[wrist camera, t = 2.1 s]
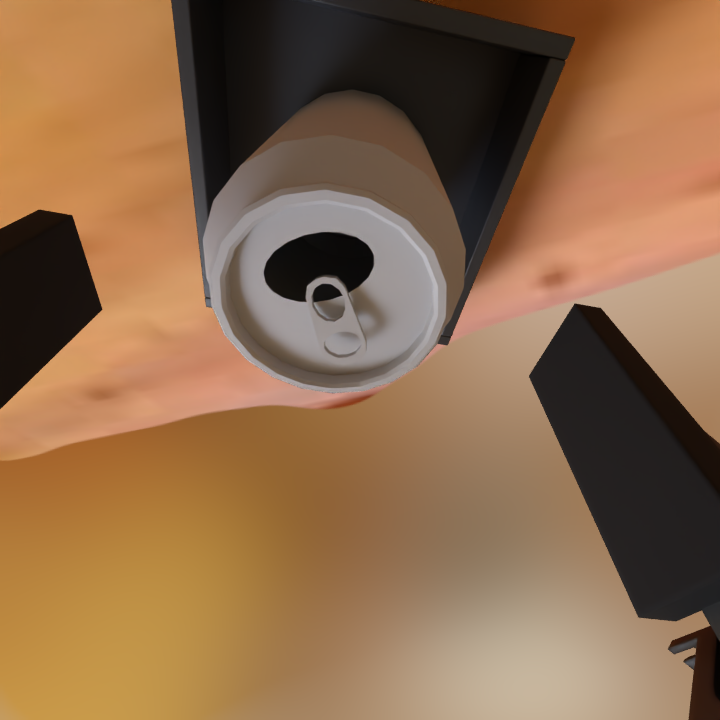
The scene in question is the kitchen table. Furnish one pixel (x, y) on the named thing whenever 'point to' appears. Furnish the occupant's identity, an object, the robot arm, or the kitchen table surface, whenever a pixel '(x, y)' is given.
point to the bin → (369, 91)
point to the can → (336, 248)
